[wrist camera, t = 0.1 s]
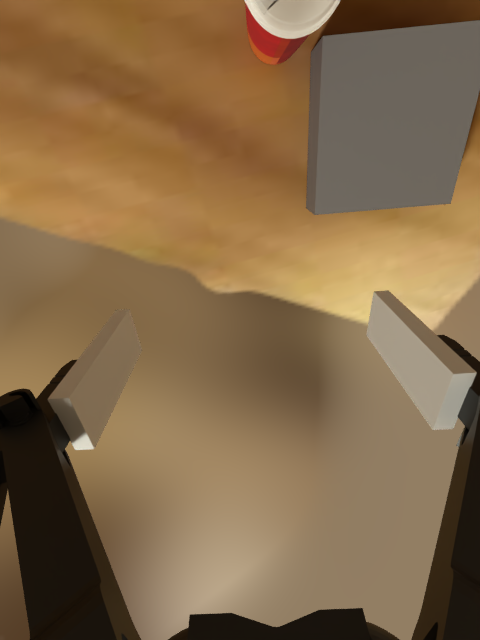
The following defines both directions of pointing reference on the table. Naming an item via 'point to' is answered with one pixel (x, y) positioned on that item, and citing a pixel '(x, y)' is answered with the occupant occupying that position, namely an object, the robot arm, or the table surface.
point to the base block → (390, 116)
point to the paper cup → (283, 25)
